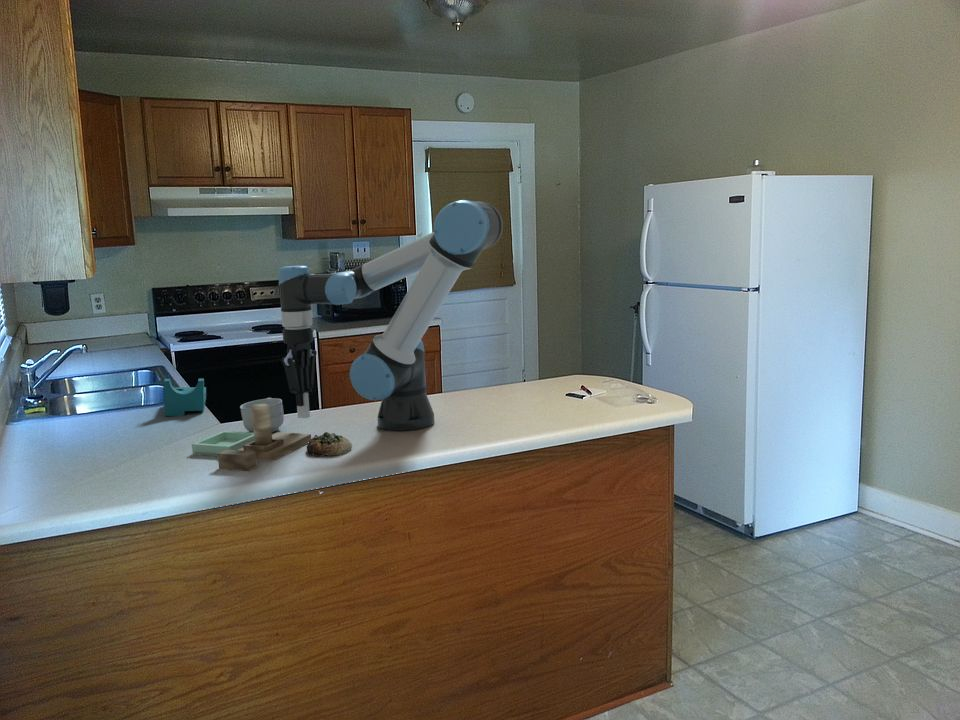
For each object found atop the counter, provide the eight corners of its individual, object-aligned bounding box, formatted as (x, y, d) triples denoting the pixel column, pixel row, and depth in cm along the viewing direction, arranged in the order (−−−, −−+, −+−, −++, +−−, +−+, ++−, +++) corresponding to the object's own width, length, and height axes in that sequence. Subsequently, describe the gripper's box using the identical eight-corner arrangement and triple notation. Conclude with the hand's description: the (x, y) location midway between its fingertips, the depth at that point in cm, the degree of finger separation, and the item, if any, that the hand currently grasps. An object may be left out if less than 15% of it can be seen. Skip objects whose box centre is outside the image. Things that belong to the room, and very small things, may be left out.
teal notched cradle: (203, 415, 228) (203, 380, 226) (164, 416, 225) (163, 381, 223) (206, 402, 245) (205, 370, 243) (169, 403, 242) (169, 370, 240)
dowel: (276, 444, 184) (272, 404, 182) (266, 449, 180) (262, 408, 178) (261, 443, 185) (258, 403, 183) (251, 448, 182) (248, 407, 180)
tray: (260, 442, 193) (260, 433, 192) (230, 456, 182) (229, 446, 181) (224, 440, 197) (223, 430, 196) (192, 454, 186) (191, 444, 185)
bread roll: (296, 451, 184) (298, 431, 183) (334, 446, 192) (335, 427, 191) (324, 461, 176) (325, 440, 176) (362, 456, 185) (364, 435, 184)
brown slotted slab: (311, 443, 193) (310, 429, 192) (273, 463, 178) (272, 447, 177) (278, 441, 196) (276, 427, 195) (238, 460, 181) (236, 445, 181)
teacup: (273, 437, 197) (270, 407, 196) (234, 437, 200) (231, 407, 198) (296, 423, 211) (294, 395, 209) (260, 423, 213) (257, 395, 212)
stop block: (256, 466, 173) (255, 451, 173) (248, 470, 171) (247, 455, 170) (227, 464, 176) (225, 449, 176) (219, 468, 173) (217, 453, 173)
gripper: (298, 323, 202) (305, 410, 206) (269, 330, 190) (276, 422, 194) (323, 323, 200) (329, 412, 204) (295, 331, 188) (302, 424, 192)
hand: (303, 417), depth 199 cm, fingers closed
